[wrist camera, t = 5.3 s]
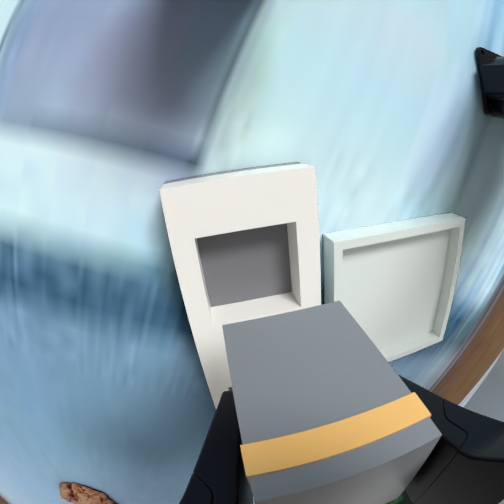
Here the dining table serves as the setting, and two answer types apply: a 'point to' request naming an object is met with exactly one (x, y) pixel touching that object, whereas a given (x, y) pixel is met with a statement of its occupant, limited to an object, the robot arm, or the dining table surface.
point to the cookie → (82, 494)
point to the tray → (396, 279)
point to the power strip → (242, 251)
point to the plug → (323, 411)
